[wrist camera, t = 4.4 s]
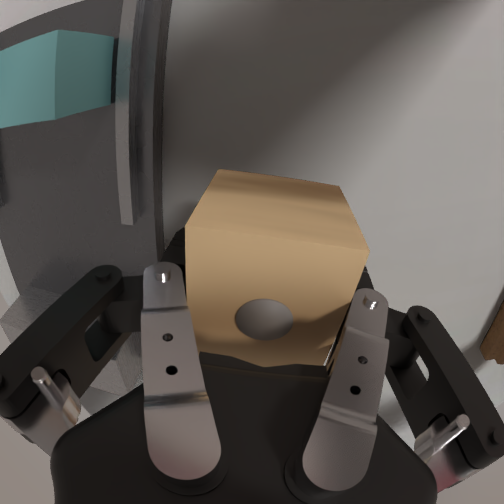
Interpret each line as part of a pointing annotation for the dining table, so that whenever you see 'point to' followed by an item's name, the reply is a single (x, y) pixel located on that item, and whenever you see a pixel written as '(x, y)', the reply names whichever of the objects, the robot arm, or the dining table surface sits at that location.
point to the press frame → (88, 174)
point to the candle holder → (495, 339)
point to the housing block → (271, 267)
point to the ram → (54, 76)
